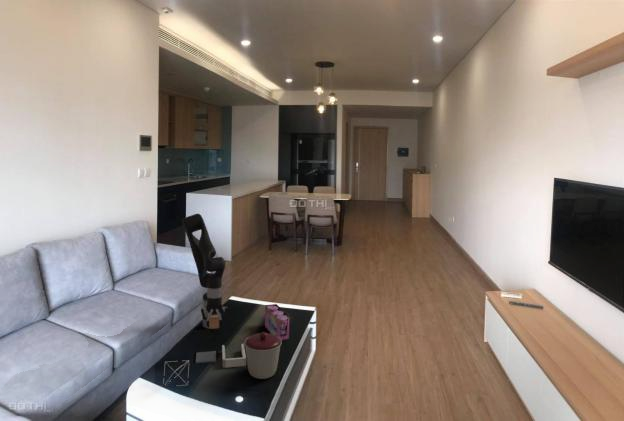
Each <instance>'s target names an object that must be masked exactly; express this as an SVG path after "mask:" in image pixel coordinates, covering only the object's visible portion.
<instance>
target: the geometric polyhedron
mask: <svg viewBox="0 0 624 421" xmlns="http://www.w3.org/2000/svg"><path fill="white" fill-rule="evenodd" d="M172 362H176V363H177V360H175V361H174V360H172V361H171V360H170V361H164V364H165V365H168V367H169V368H170V369H171V370H172V371H173V373H171V375H170V377H169V378H168V379H167V381H166V382H165V379H163V380H162V381H163V382H162V385H163V384H164V385H166V384H167V383H168V381H170V379H171V377H172V376H173V374H174V373H175V374H176V376H175V378H176V377H179V378H180V379H181V380H182V381H183V383H185V384H181V385H177V387H181V386H185V385H186V386H188V385H189V383H188V382H186V380H184V379H183V378H182V377H181V376H180V374H181V372H182V371H183V370H184V368H185V367H186V366H187V364H189V363H190V360H189V359H188V360H183V362H185V363H184V364H182V365H181V366H179V367H178V368H176V370H174V368H172V366H170V364H168V363H172ZM182 366H183V368H182V369H181V370H180V372H179V373H177V372H176V371H178V370H179V369H180V368H181V367H182ZM187 368H188V372H187V377H190V376H189V371H190V366H188V367H187ZM163 370H164V371H163V375H165V374H166V371H165V370H166V367H164V369H163Z"/></svg>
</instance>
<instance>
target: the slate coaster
mask: <svg viewBox="0 0 624 421" xmlns="http://www.w3.org/2000/svg"><path fill="white" fill-rule="evenodd" d="M216 362H217V351H215V350H213V351H200V352H199V351H198V352H196V356H195V364H204V363H205V364H206V363H216Z"/></svg>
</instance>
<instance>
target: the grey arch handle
mask: <svg viewBox="0 0 624 421" xmlns="http://www.w3.org/2000/svg"><path fill="white" fill-rule="evenodd" d="M221 349H222V350H221V354H222V356H221V358H222V368H223V369H224V368H234V367H235V368H236V367H237V368H238V367H247V366H246V365H247V354H246V348H245V344H244V343H241V351H240V352H241V357H232V358H226V348H225V344H222V345H221Z"/></svg>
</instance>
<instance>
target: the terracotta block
mask: <svg viewBox="0 0 624 421" xmlns="http://www.w3.org/2000/svg"><path fill="white" fill-rule="evenodd" d="M219 328H220V327H219V317H218V316H211V317H210V319H209V328H208V329H209V330H210V329H219Z"/></svg>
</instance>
